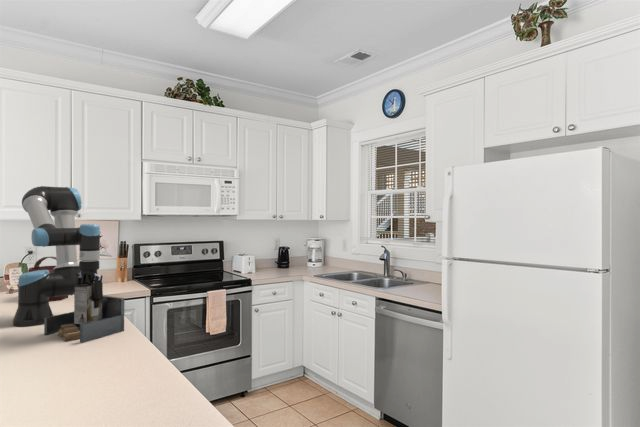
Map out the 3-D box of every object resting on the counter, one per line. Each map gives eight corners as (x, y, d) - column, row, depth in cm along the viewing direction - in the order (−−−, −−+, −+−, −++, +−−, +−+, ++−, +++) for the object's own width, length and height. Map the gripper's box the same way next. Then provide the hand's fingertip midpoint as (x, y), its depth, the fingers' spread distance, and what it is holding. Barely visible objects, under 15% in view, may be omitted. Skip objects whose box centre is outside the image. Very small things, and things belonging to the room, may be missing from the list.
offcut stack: (57, 336, 167) (57, 325, 167) (72, 333, 171) (72, 322, 171) (65, 342, 159) (66, 331, 159) (81, 339, 163) (81, 328, 163)
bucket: (80, 298, 242) (80, 256, 242) (38, 305, 223) (39, 259, 223) (59, 294, 255) (60, 254, 255) (18, 300, 236) (19, 257, 236)
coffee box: (90, 318, 178) (90, 281, 178) (102, 319, 177) (103, 282, 177) (73, 324, 169) (74, 285, 169) (86, 325, 168) (87, 286, 168)
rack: (44, 334, 168) (44, 300, 168) (87, 324, 185) (87, 293, 185) (82, 342, 158) (82, 306, 158) (124, 330, 175) (124, 298, 175)
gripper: (65, 259, 174) (64, 313, 174) (97, 263, 165) (96, 319, 165) (82, 258, 181) (81, 309, 181) (113, 261, 172) (112, 315, 172)
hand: (88, 314), depth 173 cm, fingers closed on coffee box, 7 cm apart
